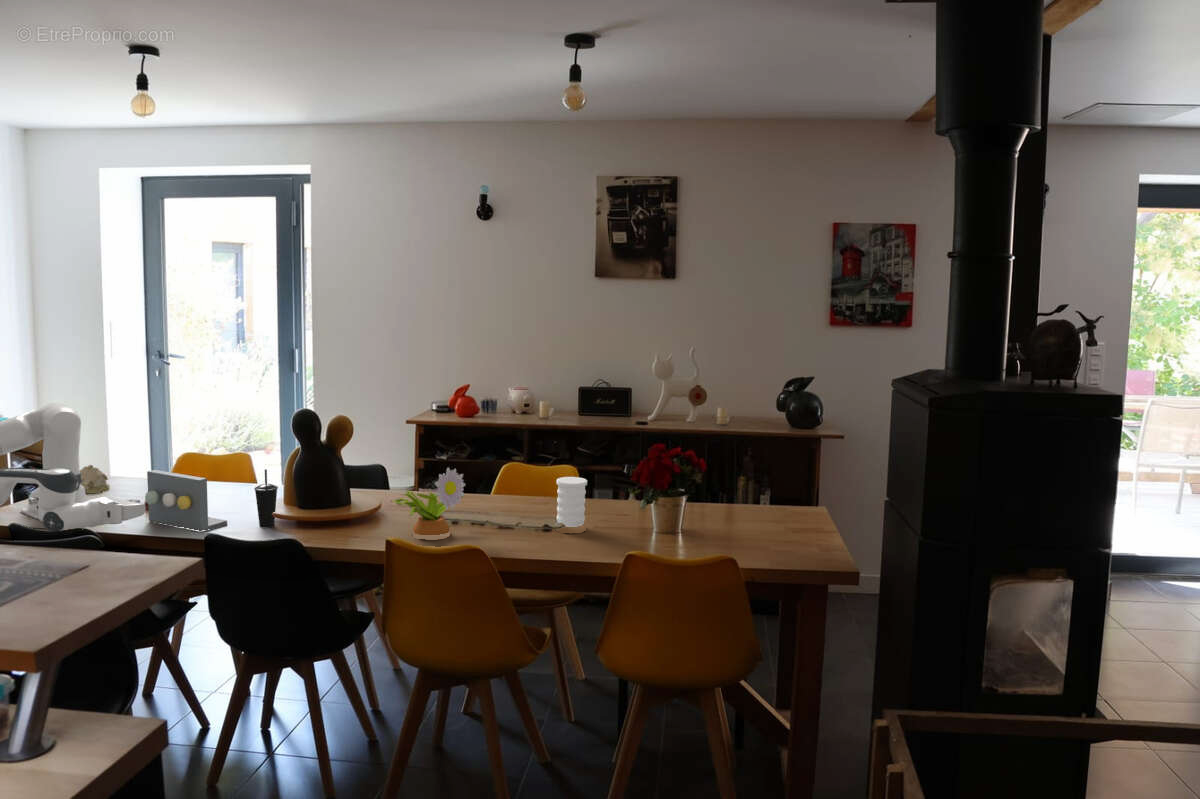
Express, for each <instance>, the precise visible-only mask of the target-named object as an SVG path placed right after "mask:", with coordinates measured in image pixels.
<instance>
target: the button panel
mask: <svg viewBox="0 0 1200 799" xmlns="http://www.w3.org/2000/svg"><path fill="white" fill-rule="evenodd" d="M146 475H147V477H146V478H147V479H146V480H147V492H151V491H156V492H157V493H158V494H159V502H158V503H156V504H152V505H150V504H148V503H147V504H148V522H149V521H150V522H149V523H151V522H156V523H162V524H167V525H172V526H177V527H184V528H189V529H194V530H199V531H202V530H208V529H211V530H214V529H213V528H215V529H218V528H220V527H224V525H225V526H228V520H226V519H221V518H216V517H209V513H208V512H209V510H208V509H209V507H208V506H209V504H208V503H209V501H208V478H206V477H201V476H193V475H188V474H181V473H176V472H170V471H164V470H158V469H153V470H152V469H151V470H147V472H146ZM168 493H174V494H175V495H176V498H177V500H178V498H179V497H181V496H185V495H187V496H189V497H190V498H191V501H192V504H191V507H190V508H187V509H180V508H179V507H178V504H177V502H176V504H175V505H173V506H169V507H167V506H165V505H164V503H163V496H164V495H165V494H168ZM156 523H155V524H156ZM217 527H218V528H217ZM208 531H209V530H208Z"/></svg>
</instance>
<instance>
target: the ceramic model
mask: <svg viewBox="0 0 1200 799" xmlns="http://www.w3.org/2000/svg"><path fill="white" fill-rule="evenodd" d="M80 473H81V476H82V482H81V485H82V486H84V489H85V494H99V493H102V492H105V491H109V490H110V488H111V487H110V484H108V483H107V481H109V479H108V476H107V475H106V474H105V473H104V472H103V471H102V470H100V469H99V468H98V467H94V465H92V464H89V465H88V466H87V465H86V466H84V467H82V469H80Z"/></svg>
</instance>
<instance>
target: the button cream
mask: <svg viewBox="0 0 1200 799" xmlns="http://www.w3.org/2000/svg"><path fill="white" fill-rule="evenodd" d="M176 502H177V498H176V495H175V494H174V493H168V494H165V495H164V496H163V503H164V505H165V506H167V507H169V506H173V505H175V504H176Z"/></svg>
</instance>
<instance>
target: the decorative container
mask: <svg viewBox="0 0 1200 799" xmlns="http://www.w3.org/2000/svg"><path fill="white" fill-rule="evenodd" d="M556 485H557V490H556V492H557V497H556V498H557V499H556V501H557V506H556V512H557V515H556V521H557V522H558V523H563V524H564V525H565V526H566V527H578V526H582V525H583V524H585V521H586V516H585V512H586V507H585V504H586V493H587V491H586V486H588V480H587V479H586V478H583V477H578V476H563V477H562V476H561V477H559V478H556ZM557 522H556V523H557Z"/></svg>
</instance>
